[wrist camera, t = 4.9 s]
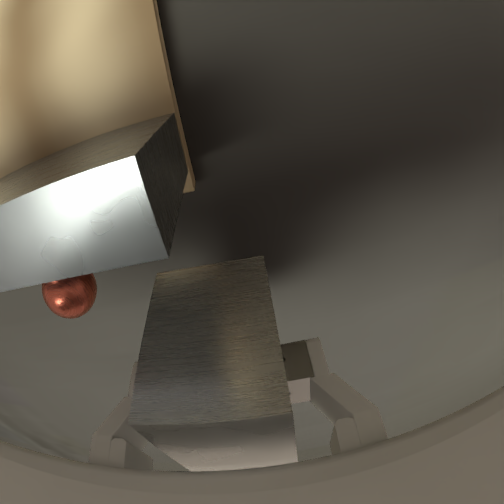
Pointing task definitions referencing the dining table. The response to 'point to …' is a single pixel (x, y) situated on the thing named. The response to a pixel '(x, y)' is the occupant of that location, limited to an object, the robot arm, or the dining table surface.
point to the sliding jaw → (91, 212)
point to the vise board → (79, 75)
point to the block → (214, 370)
